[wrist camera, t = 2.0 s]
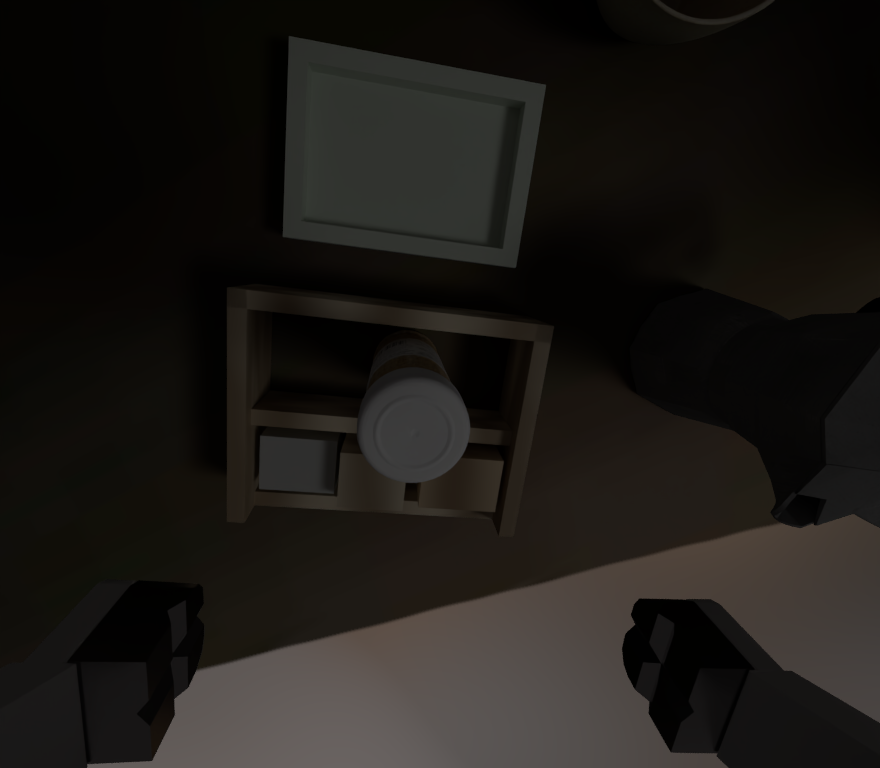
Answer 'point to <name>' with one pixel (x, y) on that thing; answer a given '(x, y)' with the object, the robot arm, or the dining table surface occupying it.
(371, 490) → the offcut pine
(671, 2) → the flower pot
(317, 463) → the offcut grey
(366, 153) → the tray
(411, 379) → the sprinkles bottle
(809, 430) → the coffeepot
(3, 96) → the dining table surface
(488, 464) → the offcut oak
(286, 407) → the rack
